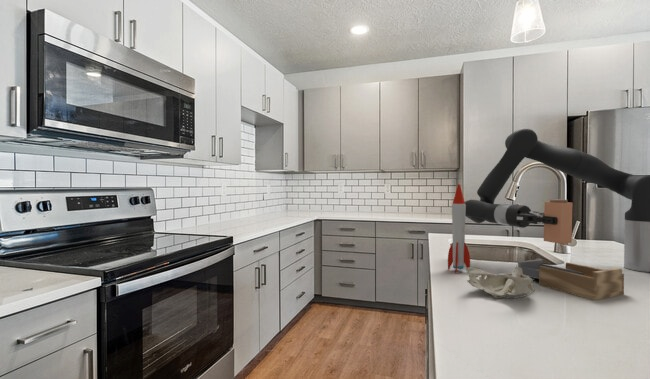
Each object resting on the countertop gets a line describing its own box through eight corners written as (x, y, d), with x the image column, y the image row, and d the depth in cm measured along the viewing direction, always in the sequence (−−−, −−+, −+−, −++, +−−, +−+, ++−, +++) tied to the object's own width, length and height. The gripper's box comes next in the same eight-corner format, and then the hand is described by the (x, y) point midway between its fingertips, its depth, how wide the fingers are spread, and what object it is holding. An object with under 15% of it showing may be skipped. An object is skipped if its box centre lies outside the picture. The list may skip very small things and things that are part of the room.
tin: (554, 240, 104) (555, 199, 104) (571, 242, 99) (572, 200, 99) (543, 240, 102) (544, 199, 102) (560, 243, 98) (561, 200, 97)
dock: (567, 280, 104) (567, 257, 104) (623, 294, 90) (624, 268, 90) (539, 284, 99) (539, 261, 99) (594, 300, 86) (594, 273, 85)
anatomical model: (456, 264, 88) (494, 250, 104) (456, 299, 88) (494, 279, 105) (518, 276, 77) (550, 258, 93) (518, 316, 77) (549, 290, 94)
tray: (539, 270, 111) (539, 259, 111) (582, 280, 99) (582, 268, 99) (517, 273, 107) (518, 261, 107) (559, 284, 95) (559, 271, 95)
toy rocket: (460, 268, 118) (461, 184, 118) (470, 272, 112) (471, 183, 112) (446, 269, 117) (447, 183, 117) (455, 273, 111) (456, 183, 111)
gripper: (497, 204, 112) (547, 208, 97) (527, 204, 118) (579, 207, 102) (496, 227, 113) (546, 234, 97) (526, 225, 118) (578, 232, 102)
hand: (562, 220), depth 99 cm, fingers closed on tin, 5 cm apart
